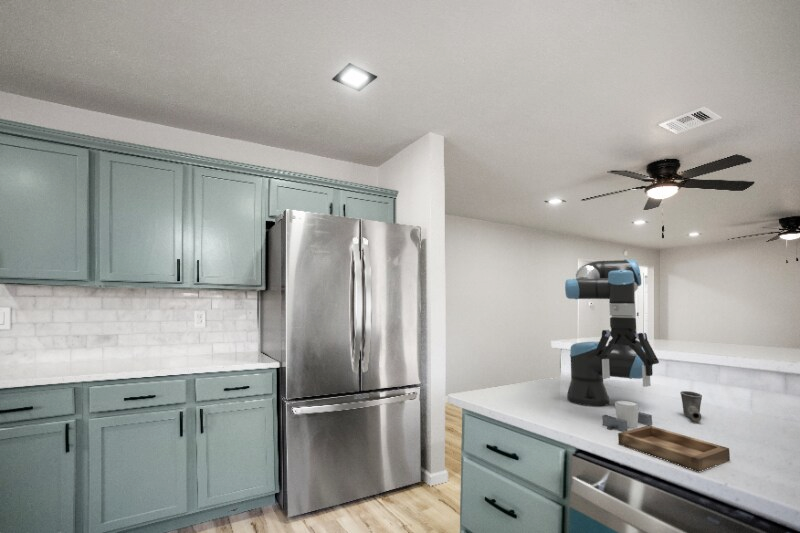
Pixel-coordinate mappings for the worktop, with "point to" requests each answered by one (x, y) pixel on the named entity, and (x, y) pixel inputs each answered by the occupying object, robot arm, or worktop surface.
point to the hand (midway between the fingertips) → (625, 382)
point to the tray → (675, 447)
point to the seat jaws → (624, 421)
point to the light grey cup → (627, 412)
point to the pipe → (691, 404)
